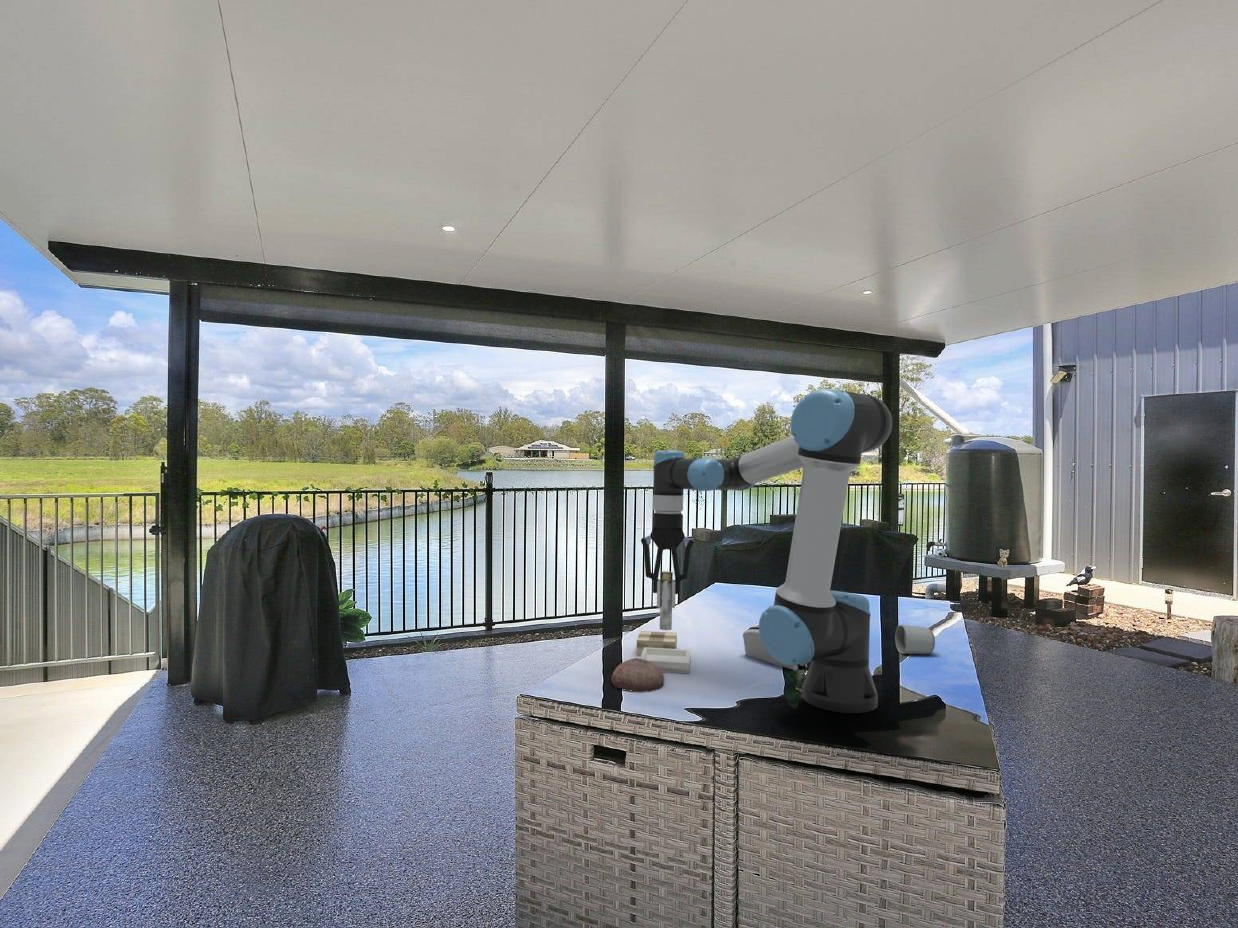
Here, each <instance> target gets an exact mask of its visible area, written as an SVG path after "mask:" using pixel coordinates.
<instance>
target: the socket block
mask: <svg viewBox="0 0 1238 928" xmlns="http://www.w3.org/2000/svg"><path fill="white" fill-rule="evenodd" d="M677 641H678V632H671V631H669V632H667V631H646V630H640V631H639V634H638V637H637V639H636V656H639V657H641V654H642V651H643V649H644V647H648V648H667V649H678V648H677V646H678V645H677V644H678V643H677Z"/></svg>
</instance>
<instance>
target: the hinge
mask: <svg viewBox="0 0 1238 928" xmlns="http://www.w3.org/2000/svg"><path fill="white" fill-rule="evenodd" d="M742 636H743V637H742V638H743V644H744V646H743V647H744V651H745V656H749V657H752V658H755V659H758V660H762V661H765V662H766V663H771V664H774V665H777V666H780V667H783V668H786V669H789V670H792V671H798V670H799V667H805V668H808V663H807V664H802V665H801V664H797V665H786V664H783V663H780V662H779V661H777V660H776V659H774V658H773V657H772V656H771V655H770V654H769V653H768V651H767V650H766V647H765V645H764V644H763V643H762V640H761V637H760V633H759V625H753V626H750V627H749V628H748V629H746V630H745V631H744V632H742Z"/></svg>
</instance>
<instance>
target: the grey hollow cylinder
mask: <svg viewBox="0 0 1238 928" xmlns="http://www.w3.org/2000/svg"><path fill="white" fill-rule="evenodd" d="M894 641H895V647H896V650H897V651H898V653H900V654H902V655H904V654H905V655H928V654H931V653H933V652H934V650H935V647H936V639H935V634H934V633H933V631H932V629H931V628H928V627H926V626H919V625H910V624H909V625H907V624H899V625H897V627H896V630H895V635H894Z"/></svg>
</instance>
